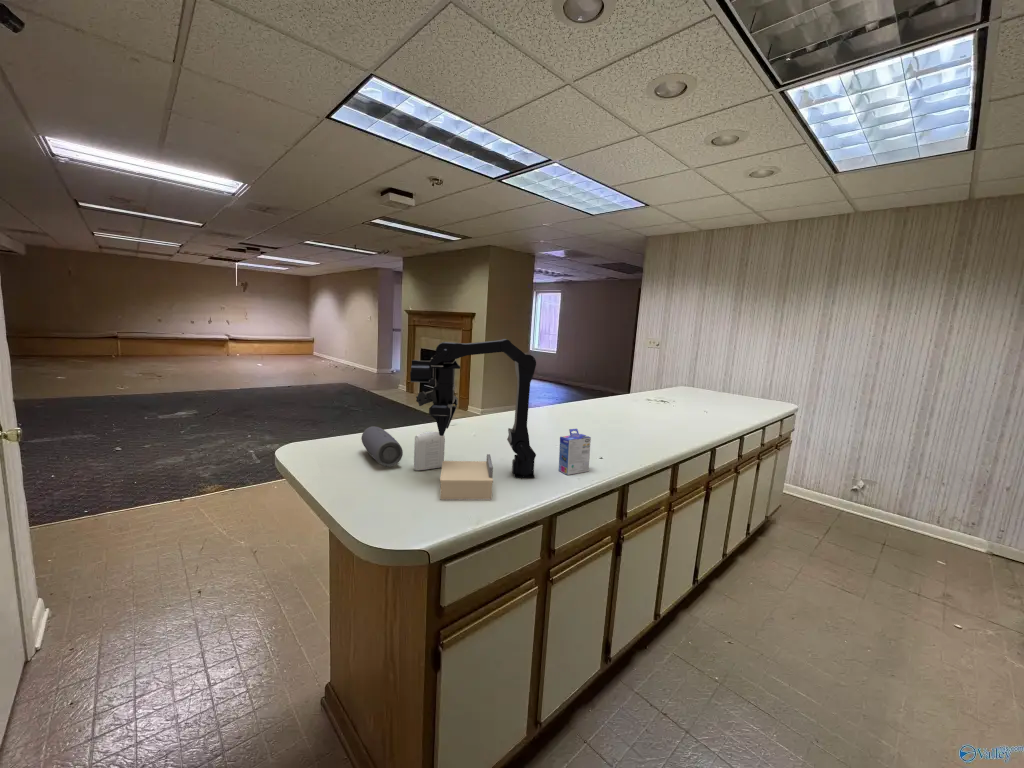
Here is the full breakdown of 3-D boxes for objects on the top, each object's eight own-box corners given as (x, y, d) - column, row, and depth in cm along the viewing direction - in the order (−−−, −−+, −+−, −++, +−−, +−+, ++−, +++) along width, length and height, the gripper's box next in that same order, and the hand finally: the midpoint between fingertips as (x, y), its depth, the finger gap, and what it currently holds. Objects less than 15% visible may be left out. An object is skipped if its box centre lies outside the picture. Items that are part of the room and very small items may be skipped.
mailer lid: (489, 463, 130) (489, 452, 130) (493, 482, 114) (493, 470, 114) (442, 462, 128) (443, 451, 128) (440, 482, 112) (440, 469, 112)
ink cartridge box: (579, 466, 147) (582, 427, 145) (589, 471, 143) (592, 430, 141) (557, 470, 142) (559, 429, 140) (567, 475, 137) (570, 433, 136)
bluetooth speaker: (404, 468, 137) (405, 438, 135) (375, 472, 132) (376, 441, 131) (385, 449, 156) (385, 423, 154) (359, 452, 151) (359, 425, 150)
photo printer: (440, 463, 143) (441, 428, 141) (445, 467, 139) (447, 431, 138) (411, 468, 137) (412, 431, 135) (416, 472, 133) (417, 434, 132)
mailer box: (487, 478, 131) (488, 463, 130) (491, 499, 115) (492, 482, 114) (442, 478, 129) (443, 463, 128) (440, 499, 113) (440, 482, 112)
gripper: (424, 378, 137) (424, 424, 139) (411, 385, 119) (411, 438, 121) (458, 379, 137) (457, 425, 139) (450, 387, 119) (449, 440, 121)
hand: (444, 431), depth 130 cm, fingers open, 9 cm apart
